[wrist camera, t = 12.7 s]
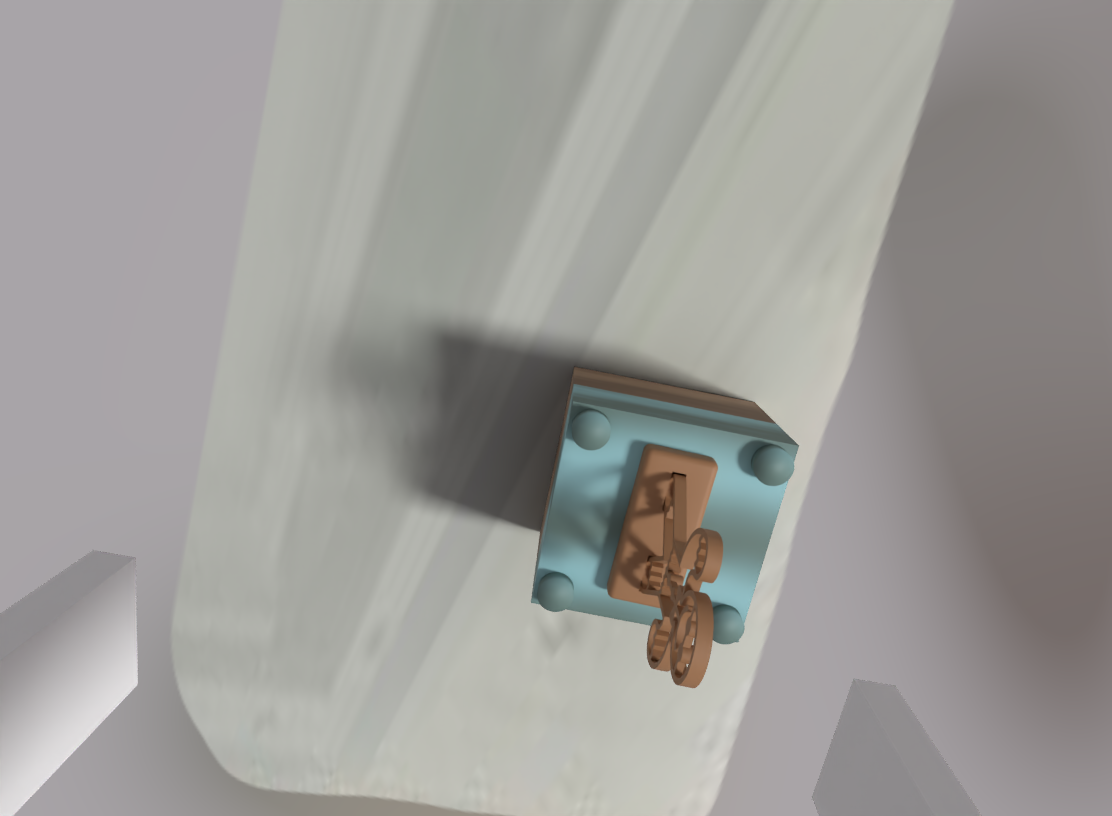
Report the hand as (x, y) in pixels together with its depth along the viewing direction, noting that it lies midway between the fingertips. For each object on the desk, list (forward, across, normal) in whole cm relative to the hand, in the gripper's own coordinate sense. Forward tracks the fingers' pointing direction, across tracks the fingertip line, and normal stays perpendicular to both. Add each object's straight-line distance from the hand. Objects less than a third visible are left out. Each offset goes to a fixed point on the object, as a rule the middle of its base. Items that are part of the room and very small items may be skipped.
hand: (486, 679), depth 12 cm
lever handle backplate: (+23, +7, -7) cm, 25 cm away
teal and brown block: (+32, +7, -7) cm, 33 cm away
